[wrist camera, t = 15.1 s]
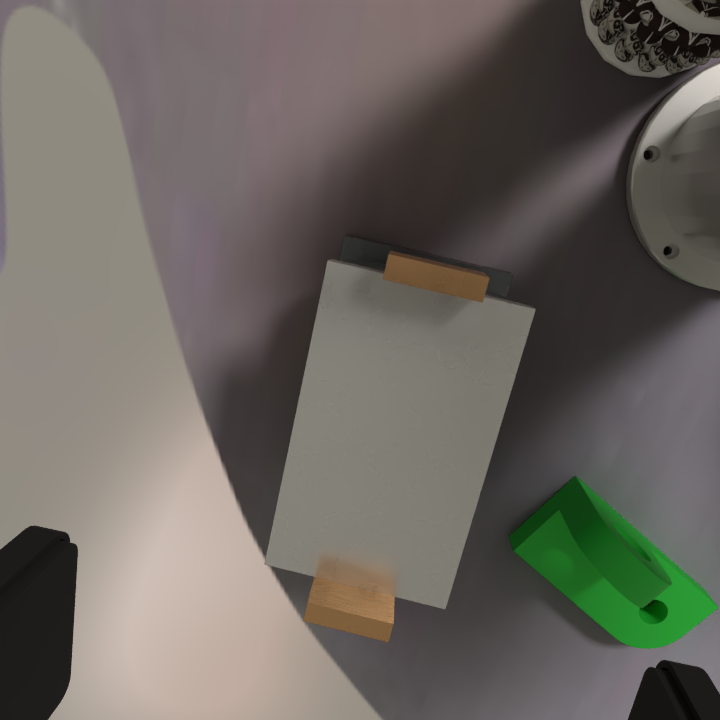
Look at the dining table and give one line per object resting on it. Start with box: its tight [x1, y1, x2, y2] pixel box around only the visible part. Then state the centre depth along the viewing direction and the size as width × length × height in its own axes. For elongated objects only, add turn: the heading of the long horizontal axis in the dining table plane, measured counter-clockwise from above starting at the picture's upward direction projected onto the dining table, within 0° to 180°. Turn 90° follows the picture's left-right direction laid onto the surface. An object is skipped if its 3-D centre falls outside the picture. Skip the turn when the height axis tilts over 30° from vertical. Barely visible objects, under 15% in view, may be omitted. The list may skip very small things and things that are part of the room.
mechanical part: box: [509, 476, 718, 648], centre depth 37 cm, size 12×6×8 cm, turn 49°
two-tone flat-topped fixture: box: [265, 235, 536, 642], centre depth 32 cm, size 10×17×14 cm, turn 167°
